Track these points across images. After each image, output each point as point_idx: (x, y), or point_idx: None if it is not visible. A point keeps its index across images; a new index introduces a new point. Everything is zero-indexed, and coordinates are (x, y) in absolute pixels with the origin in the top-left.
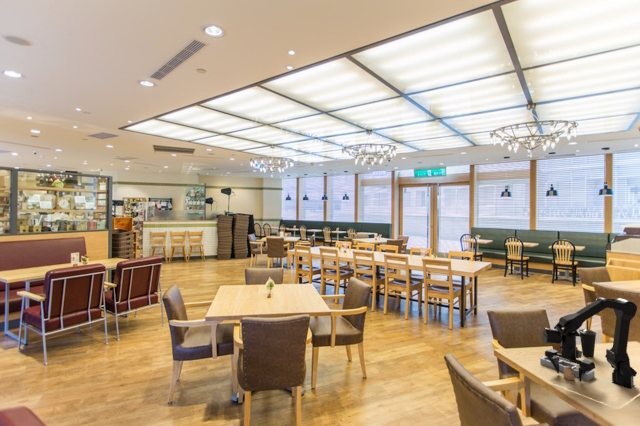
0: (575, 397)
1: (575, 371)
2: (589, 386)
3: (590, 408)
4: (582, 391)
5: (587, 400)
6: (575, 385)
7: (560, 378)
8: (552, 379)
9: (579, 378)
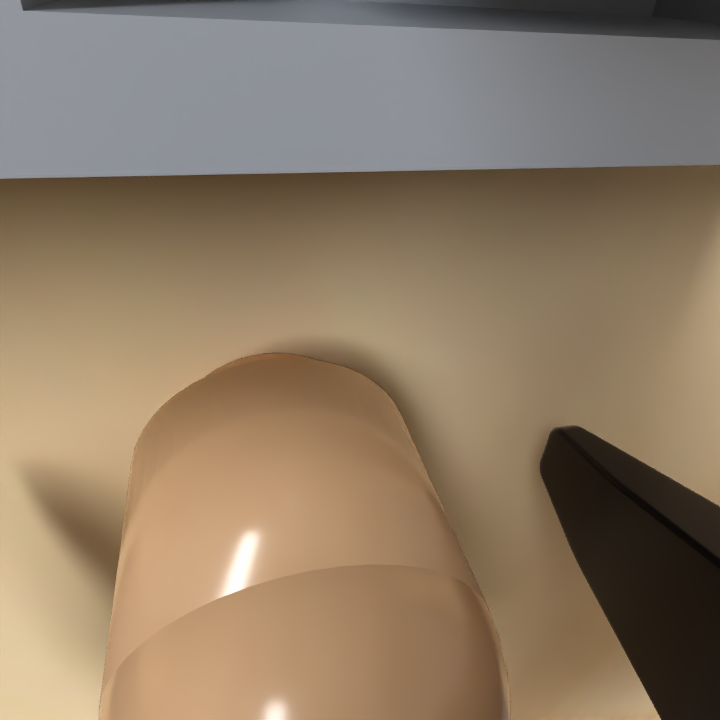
0: (529, 706)
1: (356, 157)
2: (674, 331)
3: (647, 712)
4: (575, 576)
5: (629, 662)
6: (457, 518)
7: (119, 524)
8: (92, 663)
9: (589, 562)
